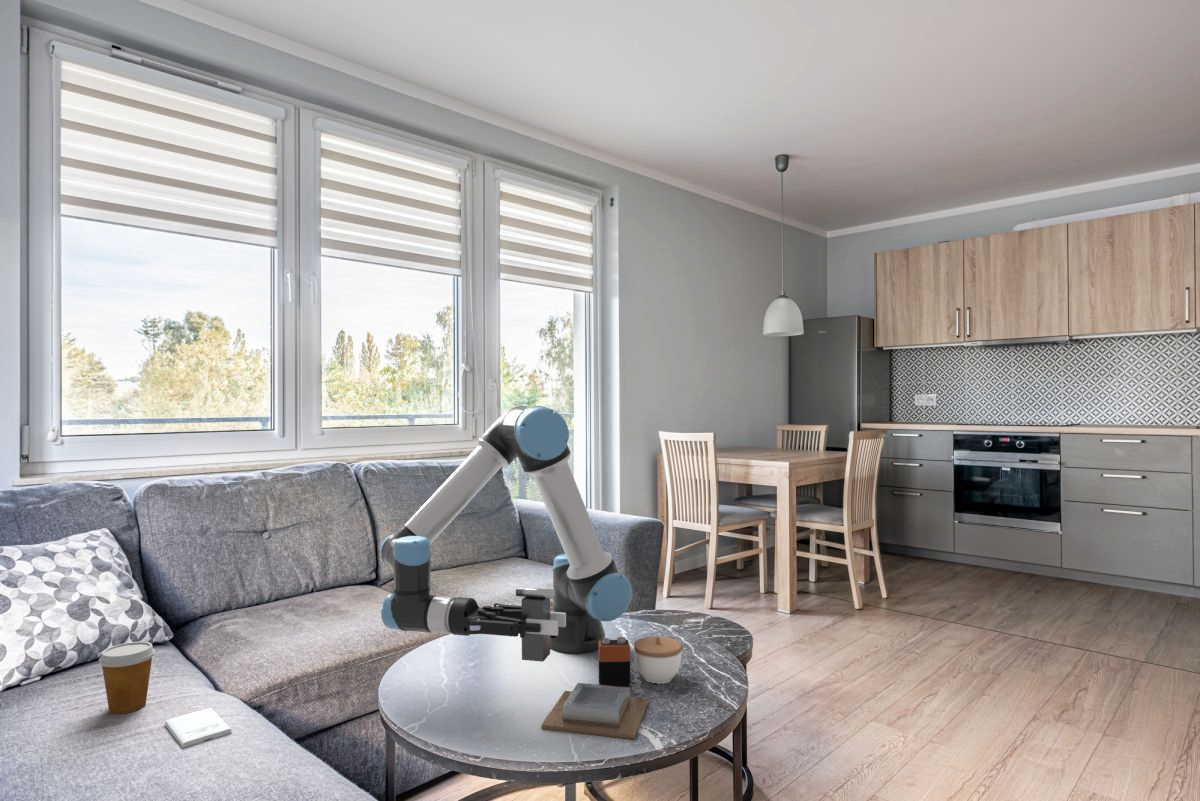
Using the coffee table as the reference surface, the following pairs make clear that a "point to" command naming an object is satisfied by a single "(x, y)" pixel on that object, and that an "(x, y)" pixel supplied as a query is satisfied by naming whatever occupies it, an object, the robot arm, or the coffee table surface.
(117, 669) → the disposable coffee cup
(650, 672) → the lidded jar
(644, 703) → the chuck block
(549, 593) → the chuck key
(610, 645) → the battery
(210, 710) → the external hard drive
